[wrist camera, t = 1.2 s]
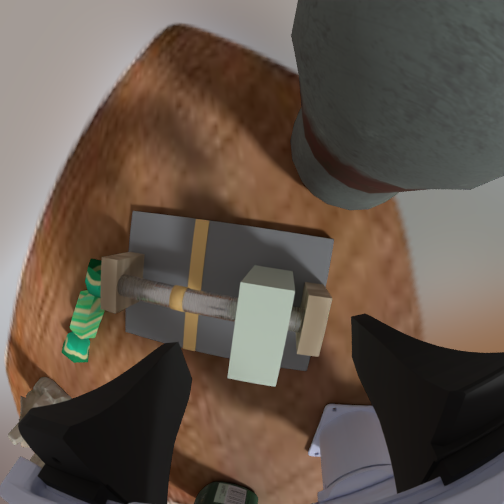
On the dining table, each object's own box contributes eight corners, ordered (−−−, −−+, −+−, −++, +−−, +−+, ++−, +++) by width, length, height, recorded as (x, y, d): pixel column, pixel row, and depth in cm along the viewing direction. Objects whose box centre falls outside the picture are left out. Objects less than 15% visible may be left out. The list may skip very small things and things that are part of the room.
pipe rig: (332, 239, 23) (345, 242, 18) (306, 366, 25) (309, 398, 19) (137, 211, 25) (104, 208, 20) (130, 328, 27) (100, 348, 21)
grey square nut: (292, 271, 22) (295, 290, 15) (279, 343, 22) (275, 386, 16) (254, 265, 22) (240, 282, 15) (243, 337, 23) (227, 378, 16)
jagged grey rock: (45, 365, 29) (-23, 414, 15) (127, 445, 30) (78, 515, 15) (31, 402, 33) (-17, 442, 18) (96, 465, 33) (58, 516, 18)
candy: (92, 253, 26) (86, 271, 22) (120, 266, 27) (118, 285, 24) (65, 336, 27) (60, 358, 24) (89, 346, 29) (87, 368, 26)
